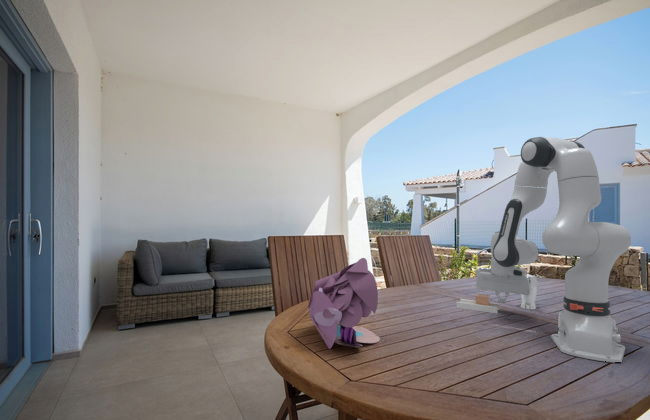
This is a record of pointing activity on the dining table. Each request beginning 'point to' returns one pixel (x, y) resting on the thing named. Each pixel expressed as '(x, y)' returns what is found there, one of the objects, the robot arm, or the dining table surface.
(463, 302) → the chute
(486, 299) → the block
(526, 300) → the beer glass
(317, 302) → the flower arrangement
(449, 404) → the dining table surface
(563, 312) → the robot arm
